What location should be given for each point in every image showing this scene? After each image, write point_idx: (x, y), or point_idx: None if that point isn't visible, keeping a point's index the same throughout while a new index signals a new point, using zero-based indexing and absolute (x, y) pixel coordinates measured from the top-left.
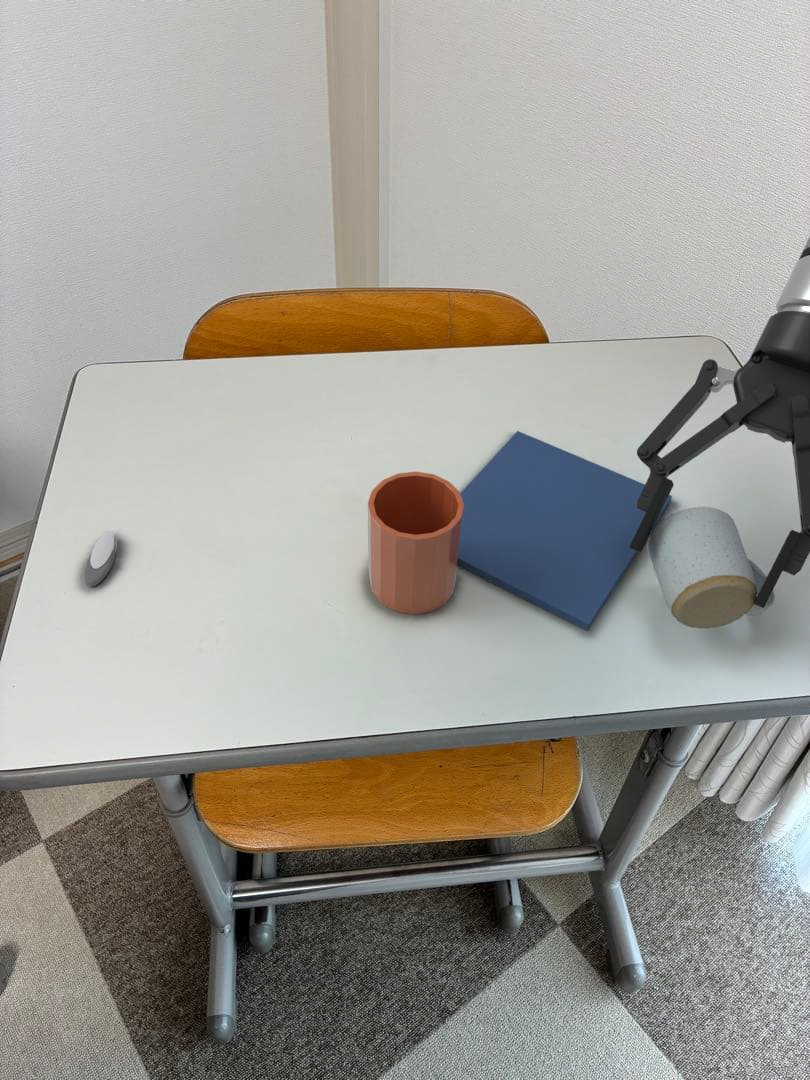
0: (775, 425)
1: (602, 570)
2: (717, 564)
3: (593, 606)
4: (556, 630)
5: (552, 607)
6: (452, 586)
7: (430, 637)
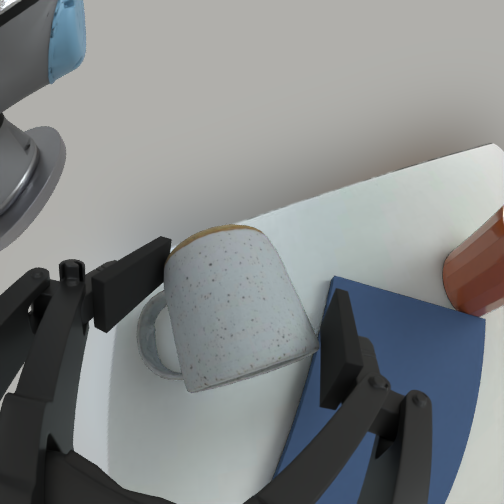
0: (98, 491)
1: None
2: (226, 245)
3: None
4: (357, 271)
5: (371, 286)
6: (450, 272)
7: (435, 234)
